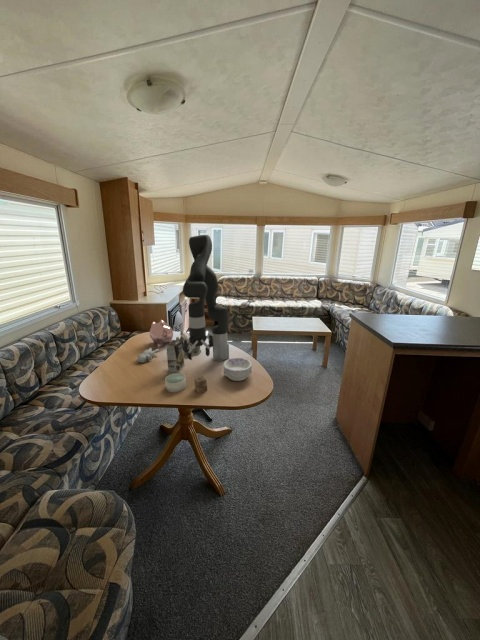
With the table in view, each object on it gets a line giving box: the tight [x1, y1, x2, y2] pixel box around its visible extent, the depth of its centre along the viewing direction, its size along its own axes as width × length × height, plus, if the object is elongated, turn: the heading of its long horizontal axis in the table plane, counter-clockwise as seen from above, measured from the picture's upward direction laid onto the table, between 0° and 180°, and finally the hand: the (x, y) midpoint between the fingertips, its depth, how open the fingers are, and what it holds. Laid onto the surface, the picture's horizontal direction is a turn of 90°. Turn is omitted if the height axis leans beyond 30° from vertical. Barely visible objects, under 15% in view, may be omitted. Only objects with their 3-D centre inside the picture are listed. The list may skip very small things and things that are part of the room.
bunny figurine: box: [136, 347, 160, 364], centre depth 163 cm, size 10×5×15 cm
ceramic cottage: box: [175, 330, 202, 360], centre depth 168 cm, size 16×16×15 cm
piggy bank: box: [149, 319, 174, 348], centre depth 185 cm, size 15×18×16 cm
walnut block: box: [194, 375, 208, 394], centre depth 128 cm, size 4×4×6 cm
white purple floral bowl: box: [223, 357, 253, 382], centre depth 140 cm, size 15×15×8 cm
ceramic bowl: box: [164, 372, 187, 393], centre depth 131 cm, size 10×10×5 cm
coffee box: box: [165, 339, 186, 373], centre depth 148 cm, size 9×6×16 cm
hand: (198, 357), depth 124 cm, fingers open, 8 cm apart
